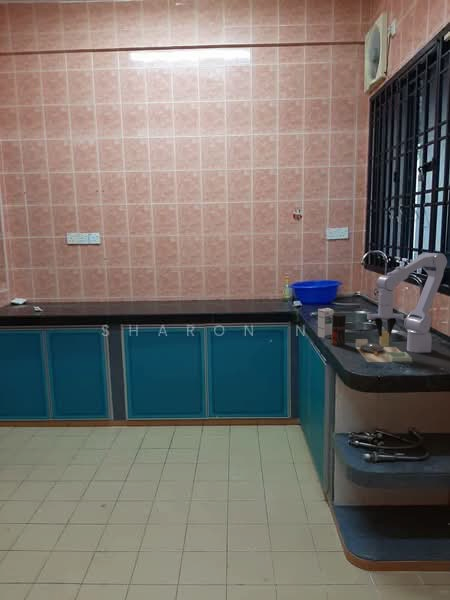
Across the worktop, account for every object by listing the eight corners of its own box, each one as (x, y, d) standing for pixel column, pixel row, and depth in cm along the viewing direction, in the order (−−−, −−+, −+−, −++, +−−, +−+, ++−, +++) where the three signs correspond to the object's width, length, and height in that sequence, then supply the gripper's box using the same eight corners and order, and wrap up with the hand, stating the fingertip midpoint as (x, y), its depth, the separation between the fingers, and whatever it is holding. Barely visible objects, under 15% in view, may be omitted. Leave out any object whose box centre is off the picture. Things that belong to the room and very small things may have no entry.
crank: (353, 346, 200) (353, 336, 199) (380, 346, 199) (381, 336, 198) (359, 354, 187) (359, 344, 187) (388, 354, 186) (388, 344, 185)
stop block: (386, 344, 188) (387, 330, 187) (388, 346, 185) (389, 332, 184) (379, 344, 188) (379, 330, 187) (381, 346, 185) (381, 332, 184)
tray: (405, 356, 185) (405, 352, 184) (411, 362, 177) (411, 357, 177) (386, 356, 185) (386, 352, 185) (392, 361, 178) (392, 357, 177)
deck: (395, 348, 199) (395, 346, 198) (412, 363, 177) (413, 361, 177) (355, 348, 200) (355, 346, 200) (367, 363, 178) (367, 361, 178)
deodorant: (346, 347, 202) (347, 316, 199) (334, 348, 201) (334, 316, 199) (342, 344, 207) (343, 313, 205) (329, 344, 207) (330, 313, 204)
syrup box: (324, 339, 217) (324, 310, 215) (317, 336, 223) (317, 308, 220) (333, 337, 219) (334, 309, 217) (326, 335, 225) (327, 307, 222)
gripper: (400, 302, 187) (398, 333, 189) (365, 302, 188) (364, 333, 190) (405, 305, 180) (404, 337, 182) (369, 305, 181) (368, 337, 183)
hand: (384, 335), depth 186 cm, fingers closed on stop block, 3 cm apart
